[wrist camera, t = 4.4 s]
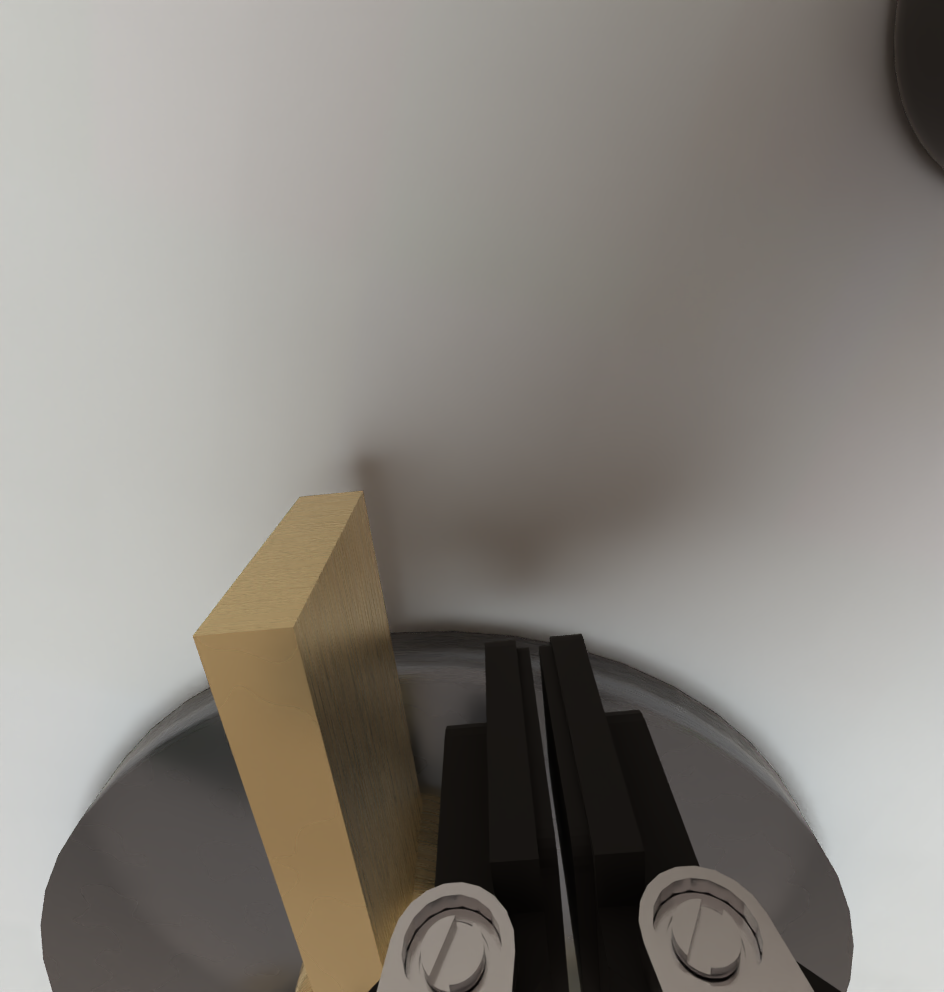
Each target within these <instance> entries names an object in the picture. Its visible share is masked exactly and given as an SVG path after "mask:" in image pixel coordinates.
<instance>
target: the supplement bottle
mask: <svg viewBox="0 0 944 992" xmlns="http://www.w3.org/2000/svg"><path fill="white" fill-rule="evenodd" d="M894 59H895V69H896V78H897V83H898V88H899V93H900V97H901V100H902V103H903V107H904V110H905V113H906V115H907V117H908V120H909V122H910V124H911V127H912V129H913V131H914V132H915V134H916V136H917V138H918V139H919V141H920V143H921V144H922V145H923V147H924V148H925V149H926V151H927V152H928V153H929V155H930V156H931V157H932V158H933V159H934V160H935V161H936V162H937V163H938V164H939V165H940V166H941V167H942V168H943V169H944V0H898V2H897V8H896V17H895V29H894Z"/></svg>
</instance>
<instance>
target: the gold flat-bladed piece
mask: <svg viewBox="0 0 944 992" xmlns="http://www.w3.org/2000/svg"><path fill="white" fill-rule="evenodd" d="M193 638H194V641H195V644H196V647H197V650H198V653H199V656H200V659H201V662H202V665H203V668H204V671H205V674H206V677H207V679H208V682H209V685H210V688H211V691H212V694H213V697H214V700H215V703H216V706H217V709H218V712H219V715H220V718H221V721H222V724H223V727H224V730H225V733H226V736H227V739H228V742H229V744H230V747H231V750H232V753H233V756H234V759H235V762H236V765H237V768H238V771H239V774H240V777H241V780H242V783H243V786H244V789H245V792H246V795H247V798H248V801H249V804H250V807H251V809H252V812H253V815H254V818H255V821H256V824H257V827H258V830H259V833H260V836H261V839H262V842H263V845H264V848H265V851H266V854H267V857H268V860H269V863H270V866H271V869H272V872H273V874H274V877H275V880H276V883H277V886H278V889H279V892H280V895H281V898H282V901H283V904H284V907H285V910H286V913H287V916H288V919H289V922H290V925H291V928H292V931H293V934H294V937H295V940H296V942H297V945H298V948H299V951H300V954H301V957H302V960H303V962H302V966H301V970H300V974H299V978H298V982H297V986H296V990H295V992H368V991H369V990H370V989H371V988H372V987H373V986H374V985H375V984H376V983H377V982H378V981H379V980H380V977H381V973H382V970H383V966H384V962H385V958H386V954H387V951H388V947H389V943H390V939H391V937H392V934H393V932H394V929H395V927H396V924H397V922H398V920H399V918H400V917H401V915H402V914H403V913H404V911H405V910H406V909H407V908H408V906H409V905H410V904H411V902H413V901H414V900H415V899H417V898H418V897H419V896H420V895H422V894H423V893H424V892H426V891H427V890H430V889H432V888H435V874H436V859H437V844H438V829H439V814H440V799H441V797H439V796H435V795H432V794H426V793H420V788H419V783H418V778H417V772H416V767H415V762H414V757H413V751H412V746H411V741H410V736H409V730H408V725H407V720H406V715H405V709H404V704H403V699H402V693H401V688H400V683H399V678H398V672H397V667H396V662H395V657H394V651H393V646H392V641H391V636H390V630H389V625H388V620H387V615H386V609H385V604H384V599H383V593H382V588H381V583H380V578H379V572H378V567H377V562H376V557H375V551H374V546H373V541H372V536H371V530H370V525H369V520H368V514H367V509H366V504H365V499H364V493H363V491H355V492H344V493H334V494H324V495H314V496H304V497H299V499H298V500H297V501H296V503H295V504H294V505H293V506H292V508H291V509H290V510H289V512H288V513H287V514H286V516H285V517H284V518H283V519H282V521H281V522H280V523H279V525H278V526H277V527H276V529H275V530H274V531H273V532H272V534H271V535H270V536H269V538H268V539H267V540H266V542H265V543H264V544H263V545H262V547H261V548H260V549H259V551H258V552H257V553H256V555H255V556H254V557H253V558H252V560H251V561H250V562H249V564H248V565H247V566H246V568H245V569H244V570H243V571H242V573H241V574H240V575H239V577H238V578H237V579H236V581H235V582H234V583H233V584H232V586H231V587H230V588H229V590H228V591H227V592H226V594H225V595H224V596H223V597H222V599H221V600H220V601H219V603H218V604H217V605H216V606H215V608H214V609H213V610H212V612H211V613H210V614H209V616H208V617H207V618H206V619H205V621H204V622H203V623H202V625H201V626H200V627H199V629H198V630H197V631H196V632H195V634H194V635H193Z"/></svg>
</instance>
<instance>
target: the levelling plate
mask: <svg viewBox="0 0 944 992" xmlns="http://www.w3.org/2000/svg"><path fill="white" fill-rule="evenodd" d="M390 636H391V641H392V646H393V651H394V657H395V662H396V667H397V672H398V678H399V683H400V688H401V693H402V699H403V704H404V709H405V715H406V720H407V725H408V730H409V736H410V741H411V746H412V751H413V757H414V762H415V767H416V772H417V778H418V783H419V788H420V793H426V794H432V795H435V796H439V797H441V784H442V769H443V754H444V739H445V729H446V727H447V726H450V725H462V724H474V723H486V722H487V720H486V676H485V643H486V642H497V641H508V640H516V648H526V647H529V651H530V659H531V666H532V673H533V680H534V687H535V695H536V702H537V709H538V716H539V723H540V731H541V738H542V745H543V752H544V759H545V767H546V774H547V781H548V788H549V795H550V803H551V810H552V817H553V824H554V831H555V839H556V847H557V856H558V865H559V876H560V887H561V899H562V911H563V923H564V935H565V947H566V959H567V970H568V982H569V992H581V989H580V982H579V975H578V968H577V961H576V954H575V947H574V940H573V934H572V927H571V920H570V913H569V906H568V899H567V892H566V885H565V878H564V871H563V864H562V858H561V851H560V844H559V837H558V830H557V823H556V816H555V809H554V802H553V795H552V788H551V781H550V773H549V763H548V751H547V740H546V728H545V716H544V705H543V693H542V681H541V670H540V658H539V646H548V645H550V643H545V642H540V641H535V640H530V639H525V638H519V637H514V636H504V635H491V634H479V633H466V632H454V631H451V632H417V633H391V634H390ZM588 657H589V660H590V664H591V667H592V671H593V674H594V678H595V681H596V684H597V688H598V691H599V695H600V698H601V702H602V705H603V709H604V712H616V711H628V710H640V711H641V713H642V714H643V717H644V719H645V721H646V724H647V726H648V729H649V732H650V735H651V737H652V740H653V743H654V745H655V748H656V751H657V753H658V756H659V759H660V761H661V764H662V767H663V769H664V772H665V775H666V777H667V780H668V783H669V785H670V788H671V791H672V793H673V796H674V799H675V802H676V804H677V807H678V810H679V812H680V815H681V818H682V820H683V823H684V826H685V828H686V831H687V834H688V836H689V839H690V842H691V844H692V847H693V850H694V852H695V855H696V858H697V860H698V863H699V866H700V867H703V868H707V869H712V870H715V871H717V872H719V873H721V874H723V875H725V876H727V877H729V878H731V879H734V880H735V881H736V882H738V883H739V884H740V885H741V886H742V887H744V888H745V889H746V890H747V891H749V892H750V893H751V894H752V895H753V896H754V897H755V899H756V900H757V901H758V902H759V904H760V905H761V906H762V908H763V909H764V910H765V911H766V913H767V914H768V916H769V917H770V919H771V921H772V922H773V924H774V926H775V927H776V929H777V931H778V932H779V934H780V936H781V937H782V939H783V941H784V942H785V944H786V946H787V947H788V949H789V951H790V952H791V954H792V956H793V957H794V959H795V960H796V961H797V962H798V963H800V964H801V965H803V966H804V967H806V968H807V969H809V970H810V971H812V972H813V973H815V974H816V975H818V976H819V977H820V978H822V979H823V980H825V981H826V982H828V983H829V984H831V985H832V986H834V987H835V988H837V989H838V990H840V991H841V992H846V991H847V988H848V985H849V982H850V976H851V966H852V957H853V947H854V945H853V937H852V928H851V919H850V911H849V908H848V905H847V902H846V899H845V896H844V893H843V890H842V887H841V884H840V881H839V878H838V875H837V874H836V872H835V870H834V868H833V867H832V865H831V863H830V862H829V860H828V858H827V857H826V855H825V853H824V851H823V850H822V848H821V846H820V845H819V843H818V841H817V839H816V838H815V836H814V834H813V833H812V831H811V829H810V828H809V826H808V824H807V822H806V821H805V819H804V817H803V816H802V814H801V812H800V811H799V809H798V807H797V805H796V804H795V802H794V800H793V799H792V797H791V795H790V794H789V792H788V790H787V789H786V787H785V785H784V783H783V782H782V780H781V778H780V777H779V775H778V774H777V773H776V772H775V771H774V769H773V768H772V767H771V766H770V765H769V764H768V762H767V761H766V760H765V759H764V758H763V757H762V755H761V754H760V753H759V752H758V751H757V749H756V748H755V747H754V746H753V745H752V744H751V743H750V742H749V741H748V740H747V739H745V738H744V737H743V736H742V735H741V734H740V733H738V732H737V731H736V730H735V729H734V728H733V727H731V726H730V725H729V724H728V723H727V722H725V721H724V720H723V719H722V718H721V717H720V716H718V715H717V714H716V713H714V712H713V711H711V710H710V709H708V708H706V707H705V706H703V705H702V704H700V703H698V702H697V701H695V700H694V699H692V698H691V697H689V696H687V695H686V694H684V693H683V692H681V691H679V690H678V689H676V688H675V687H673V686H671V685H668V684H666V683H664V682H662V681H660V680H657V679H655V678H653V677H651V676H649V675H646V674H644V673H642V672H640V671H638V670H636V669H633V668H631V667H629V666H627V665H624V664H621V663H618V662H615V661H612V660H609V659H606V658H602V657H599V656H596V655H593V654H590V653H588ZM41 936H42V949H43V960H44V963H45V967H46V970H47V974H48V977H49V981H50V984H51V988H52V991H53V992H295V990H296V986H297V982H298V978H299V974H300V970H301V966H302V962H303V960H302V957H301V954H300V951H299V948H298V945H297V942H296V940H295V937H294V934H293V931H292V928H291V925H290V922H289V919H288V916H287V913H286V910H285V907H284V904H283V901H282V898H281V895H280V892H279V889H278V886H277V883H276V880H275V877H274V874H273V872H272V869H271V866H270V863H269V860H268V857H267V854H266V851H265V848H264V845H263V842H262V839H261V836H260V833H259V830H258V827H257V824H256V821H255V818H254V815H253V812H252V809H251V807H250V804H249V801H248V798H247V795H246V792H245V789H244V786H243V783H242V780H241V777H240V774H239V771H238V768H237V765H236V762H235V759H234V756H233V753H232V750H231V747H230V744H229V742H228V739H227V736H226V733H225V730H224V727H223V724H222V721H221V718H220V715H219V712H218V709H217V706H216V703H215V700H214V697H213V694H212V691H211V688H209V689H207V690H205V691H204V692H202V693H200V694H198V695H197V696H195V697H193V698H191V699H190V700H188V701H187V702H185V703H184V704H183V705H181V706H180V707H179V708H178V709H176V710H175V711H174V712H173V713H171V714H170V715H169V716H167V717H166V718H165V719H164V720H162V721H161V722H160V723H159V724H157V725H156V726H155V727H153V728H152V729H151V730H150V731H149V732H148V734H147V735H146V736H145V737H144V738H143V739H142V740H141V741H140V742H139V743H138V744H137V746H136V747H135V748H134V749H133V750H132V751H131V752H130V753H129V754H128V755H127V756H126V758H125V759H124V760H123V761H122V763H121V764H120V765H119V767H118V768H117V770H116V771H115V772H114V774H113V775H112V777H111V778H110V779H109V781H108V782H107V784H106V785H105V786H104V788H103V789H102V790H101V792H100V793H99V795H98V796H97V797H96V799H95V800H94V802H93V803H92V804H91V806H90V807H89V809H88V810H87V811H86V813H85V814H84V816H83V817H82V818H81V820H80V821H79V823H78V824H77V826H76V828H75V829H74V831H73V832H72V834H71V836H70V837H69V839H68V840H67V842H66V844H65V845H64V847H63V848H62V850H61V852H60V853H59V855H58V857H57V860H56V863H55V866H54V868H53V871H52V874H51V876H50V879H49V882H48V885H47V887H46V890H45V897H44V904H43V911H42V919H41Z"/></svg>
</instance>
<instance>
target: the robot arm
mask: <svg viewBox="0 0 944 992" xmlns="http://www.w3.org/2000/svg"><path fill="white" fill-rule="evenodd" d="M539 658H540V670H541V681H542V693H543V705H544V716H545V728H546V740H547V751H548V763H549V773H550V781H551V788H552V795H553V802H554V809H555V816H556V823H557V830H558V837H559V844H560V851H561V858H562V864H563V871H564V878H565V885H566V892H567V899H568V906H569V913H570V920H571V927H572V934H573V940H574V947H575V954H576V961H577V968H578V975H579V982H580V989H581V992H841V991H840V990H838V989H837V988H835V987H834V986H832V985H831V984H829V983H828V982H826V981H825V980H823V979H822V978H820V977H819V976H818V975H816V974H815V973H813V972H812V971H810V970H809V969H807V968H806V967H804V966H803V965H801V964H800V963H798V962H797V961H796V960H795V959H794V957H793V956H792V954H791V952H790V951H789V949H788V947H787V946H786V944H785V942H784V941H783V939H782V937H781V936H780V934H779V932H778V931H777V929H776V927H775V926H774V924H773V922H772V921H771V919H770V917H769V916H768V914H767V913H766V911H765V910H764V909H763V908H762V906H761V905H760V904H759V902H758V901H757V900H756V899H755V897H754V896H753V895H752V894H751V893H750V892H749V891H747V890H746V889H745V888H744V887H742V886H741V885H740V884H739V883H738V882H736V881H735V880H734V879H731V878H729V877H727V876H725V875H723V874H721V873H719V872H717V871H715V870H712V869H707V868H703V867H700V866H699V863H698V860H697V858H696V855H695V852H694V850H693V847H692V844H691V842H690V839H689V836H688V834H687V831H686V828H685V826H684V823H683V820H682V818H681V815H680V812H679V810H678V807H677V804H676V802H675V799H674V796H673V793H672V791H671V788H670V785H669V783H668V780H667V777H666V775H665V772H664V769H663V767H662V764H661V761H660V759H659V756H658V753H657V751H656V748H655V745H654V743H653V740H652V737H651V735H650V732H649V729H648V726H647V724H646V721H645V719H644V717H643V714H642V713H641V711H640V710H628V711H616V712H604V709H603V705H602V702H601V698H600V695H599V691H598V688H597V684H596V681H595V678H594V674H593V671H592V667H591V664H590V660H589V657H588V653H587V650H586V646H585V643H584V639H583V636H582V634H574V635H563V636H552V637H550V645H548V646H539ZM485 676H486V720H487V722H486V723H474V724H462V725H450V726H447V727H446V729H445V739H444V754H443V769H442V784H441V799H440V814H439V829H438V844H437V859H436V874H435V888H432V889H430V890H427V891H426V892H424V893H423V894H422V895H420V896H419V897H418V898H417V899H415V900H414V901H413V902H411V904H410V905H409V906H408V908H407V909H406V910H405V911H404V913H403V914H402V915H401V917H400V918H399V920H398V922H397V924H396V927H395V929H394V932H393V934H392V937H391V939H390V943H389V947H388V951H387V954H386V958H385V962H384V966H383V970H382V973H381V977H380V980H379V981H378V982H377V983H376V984H375V985H374V986H373V987H372V988H371V989H370V990H369V991H368V992H569V982H568V970H567V959H566V947H565V935H564V923H563V911H562V899H561V887H560V876H559V865H558V856H557V847H556V839H555V831H554V824H553V817H552V810H551V803H550V795H549V788H548V781H547V774H546V767H545V759H544V752H543V745H542V738H541V731H540V723H539V716H538V709H537V702H536V695H535V687H534V680H533V673H532V666H531V659H530V651H529V647H526V648H516V640H508V641H497V642H486V643H485Z"/></svg>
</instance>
